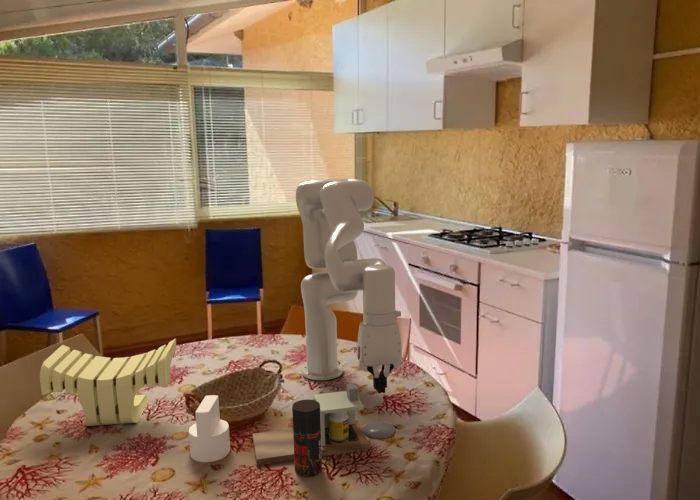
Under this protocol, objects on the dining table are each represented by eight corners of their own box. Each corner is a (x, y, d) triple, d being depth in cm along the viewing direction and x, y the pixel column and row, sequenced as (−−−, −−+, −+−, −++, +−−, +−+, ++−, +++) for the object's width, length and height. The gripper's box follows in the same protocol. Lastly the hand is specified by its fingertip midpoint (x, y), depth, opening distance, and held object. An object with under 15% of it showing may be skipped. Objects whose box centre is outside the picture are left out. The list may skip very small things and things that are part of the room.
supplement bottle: (346, 446, 137) (345, 412, 136) (327, 444, 138) (326, 411, 137) (350, 436, 142) (350, 403, 140) (331, 434, 143) (330, 402, 141)
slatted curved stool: (46, 433, 146) (38, 366, 143) (69, 405, 162) (62, 344, 159) (169, 425, 149) (164, 359, 146) (180, 398, 165) (175, 338, 162)
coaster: (359, 425, 147) (359, 423, 147) (389, 421, 149) (389, 419, 149) (367, 440, 140) (367, 439, 140) (399, 436, 141) (399, 434, 141)
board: (252, 439, 141) (252, 433, 141) (357, 425, 147) (357, 419, 147) (256, 465, 130) (256, 459, 130) (369, 449, 136) (369, 443, 135)
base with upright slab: (197, 442, 141) (193, 395, 139) (234, 441, 140) (231, 395, 138) (185, 462, 132) (181, 412, 130) (225, 462, 132) (221, 412, 129)
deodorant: (294, 463, 131) (292, 400, 128) (321, 461, 131) (319, 398, 128) (294, 478, 125) (291, 412, 122) (322, 476, 125) (320, 410, 122)
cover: (314, 427, 143) (313, 383, 141) (354, 422, 145) (353, 378, 143) (321, 445, 134) (320, 398, 132) (363, 440, 137) (363, 393, 134)
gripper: (404, 310, 142) (404, 381, 146) (344, 315, 139) (346, 388, 142) (414, 319, 135) (415, 393, 138) (352, 325, 132) (353, 401, 135)
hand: (380, 390), depth 140 cm, fingers closed
